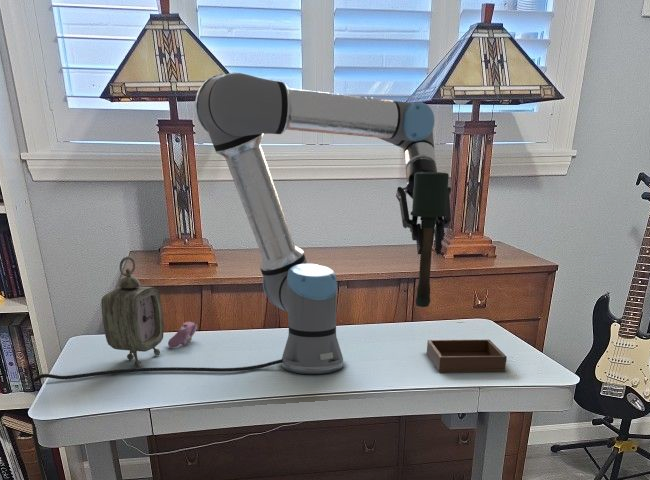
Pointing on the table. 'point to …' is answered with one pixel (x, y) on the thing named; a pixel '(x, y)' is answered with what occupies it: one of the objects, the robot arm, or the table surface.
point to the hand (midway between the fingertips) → (429, 250)
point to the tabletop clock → (132, 316)
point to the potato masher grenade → (428, 222)
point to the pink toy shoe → (183, 335)
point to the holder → (466, 356)
